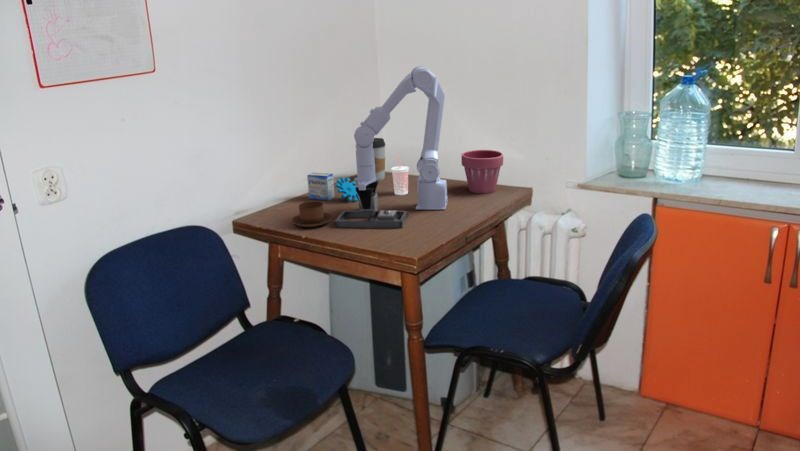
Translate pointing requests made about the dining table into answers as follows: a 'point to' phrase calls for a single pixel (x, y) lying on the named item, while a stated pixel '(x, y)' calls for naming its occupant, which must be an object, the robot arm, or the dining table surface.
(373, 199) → the grey square block
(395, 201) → the dining table surface
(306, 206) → the cup and saucer
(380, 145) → the coffee cup
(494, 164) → the plant pot
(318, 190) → the medicine box
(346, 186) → the gear
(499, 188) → the dining table surface
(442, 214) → the dining table surface
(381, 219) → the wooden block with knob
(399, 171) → the beverage cup
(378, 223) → the grey flat rectangular frame
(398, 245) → the dining table surface
